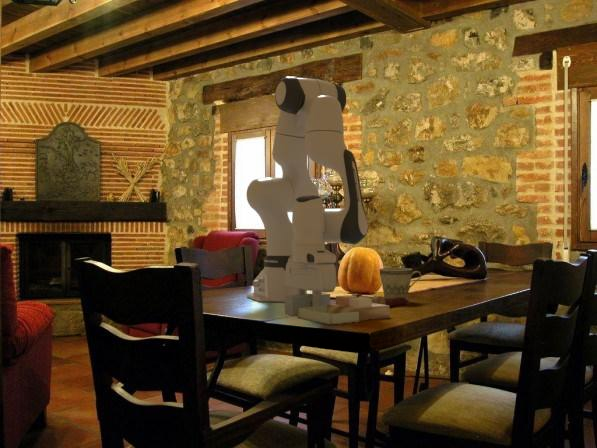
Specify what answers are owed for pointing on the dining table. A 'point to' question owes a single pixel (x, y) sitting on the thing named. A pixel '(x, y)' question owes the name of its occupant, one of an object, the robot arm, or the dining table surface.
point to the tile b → (360, 302)
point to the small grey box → (302, 302)
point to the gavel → (385, 300)
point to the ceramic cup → (396, 282)
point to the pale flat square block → (361, 311)
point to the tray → (326, 315)
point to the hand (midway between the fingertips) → (309, 306)
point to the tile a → (344, 299)
